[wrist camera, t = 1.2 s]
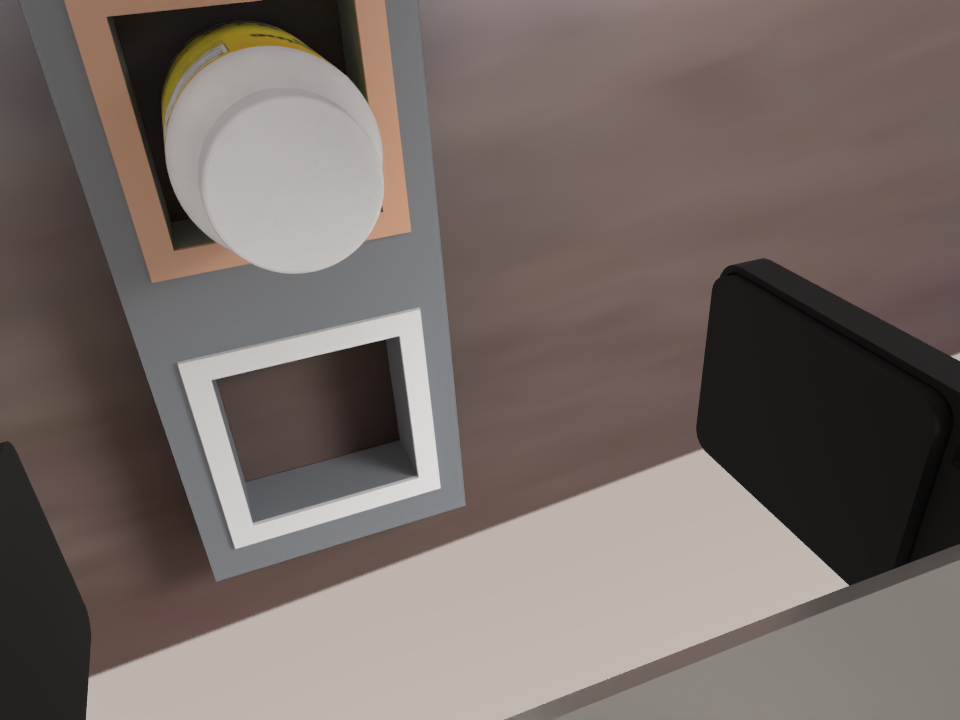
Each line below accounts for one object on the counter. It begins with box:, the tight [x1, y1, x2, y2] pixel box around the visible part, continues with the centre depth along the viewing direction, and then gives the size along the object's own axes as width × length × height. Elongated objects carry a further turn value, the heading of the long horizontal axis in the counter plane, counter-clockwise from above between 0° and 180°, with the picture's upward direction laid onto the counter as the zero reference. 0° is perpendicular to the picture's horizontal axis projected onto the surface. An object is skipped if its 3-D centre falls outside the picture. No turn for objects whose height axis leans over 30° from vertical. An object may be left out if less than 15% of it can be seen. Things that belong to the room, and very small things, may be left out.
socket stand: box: [19, 0, 466, 582], centre depth 31 cm, size 12×26×3 cm, turn 5°
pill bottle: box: [161, 20, 384, 274], centre depth 24 cm, size 6×6×11 cm
